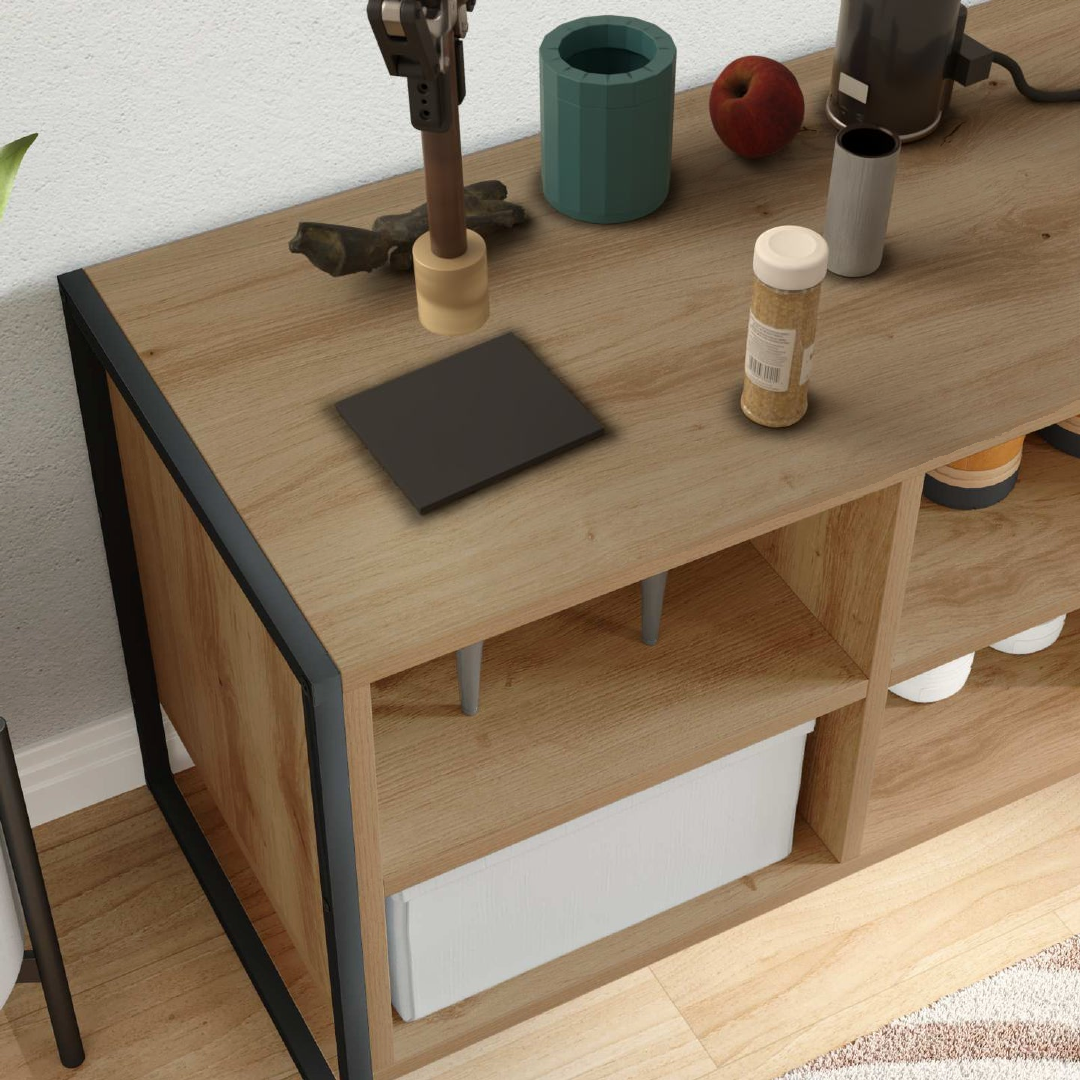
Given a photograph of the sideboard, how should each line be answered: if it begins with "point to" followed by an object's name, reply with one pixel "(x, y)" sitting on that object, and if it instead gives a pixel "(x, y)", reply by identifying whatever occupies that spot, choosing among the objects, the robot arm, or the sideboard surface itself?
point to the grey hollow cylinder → (860, 197)
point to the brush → (449, 237)
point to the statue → (396, 233)
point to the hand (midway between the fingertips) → (439, 113)
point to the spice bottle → (783, 324)
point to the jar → (606, 117)
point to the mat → (467, 421)
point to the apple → (756, 106)
